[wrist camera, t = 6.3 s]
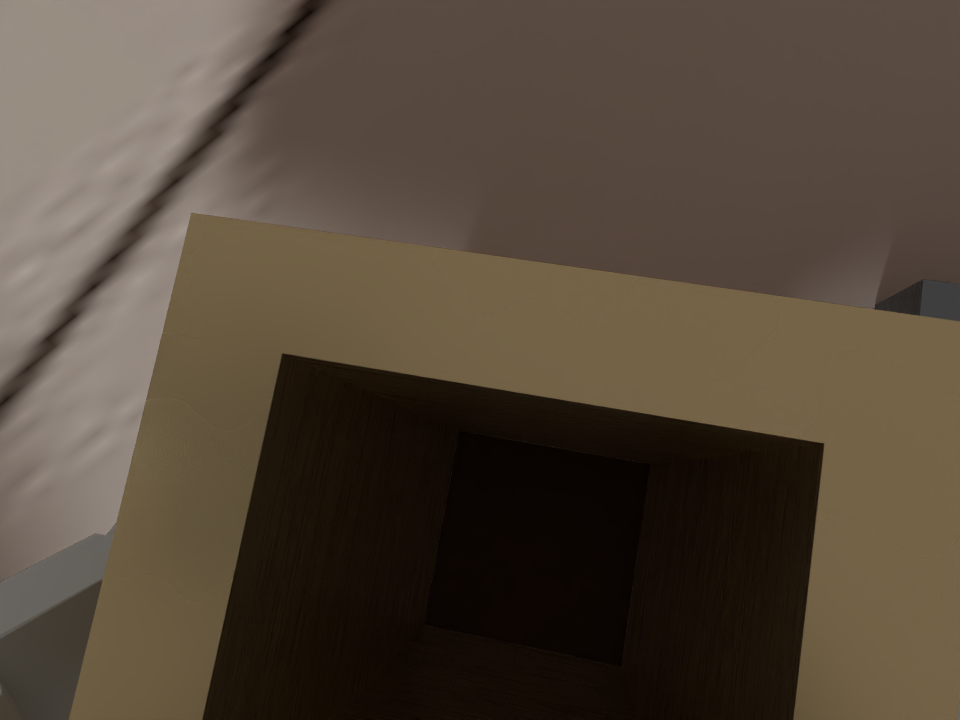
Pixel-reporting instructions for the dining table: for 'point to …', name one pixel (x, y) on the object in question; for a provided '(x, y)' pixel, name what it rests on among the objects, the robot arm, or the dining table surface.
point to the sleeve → (536, 420)
